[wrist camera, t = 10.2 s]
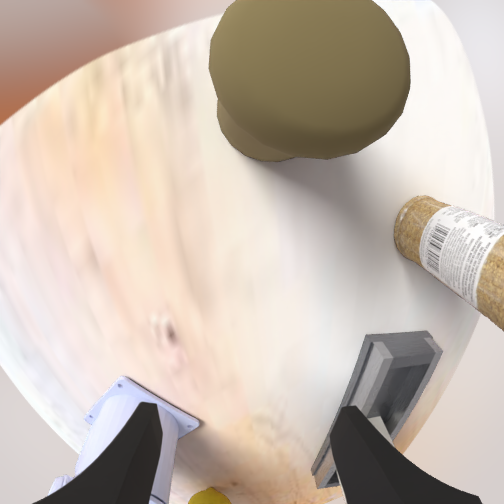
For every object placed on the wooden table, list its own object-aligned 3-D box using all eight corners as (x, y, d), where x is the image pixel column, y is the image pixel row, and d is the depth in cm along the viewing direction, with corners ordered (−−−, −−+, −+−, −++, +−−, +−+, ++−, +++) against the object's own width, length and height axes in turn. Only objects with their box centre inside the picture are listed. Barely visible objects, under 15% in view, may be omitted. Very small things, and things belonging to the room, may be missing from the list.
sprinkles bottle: (426, 266, 19) (557, 378, 6) (380, 245, 18) (532, 376, 5) (451, 209, 17) (604, 285, 5) (408, 181, 17) (593, 250, 4)
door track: (357, 462, 27) (364, 480, 24) (310, 469, 27) (315, 489, 24) (426, 330, 21) (444, 351, 18) (365, 334, 20) (381, 359, 17)
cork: (344, 117, 15) (480, 91, 5) (268, 184, 16) (322, 242, 6) (274, 42, 14) (323, -80, 3) (194, 108, 15) (122, 40, 4)
